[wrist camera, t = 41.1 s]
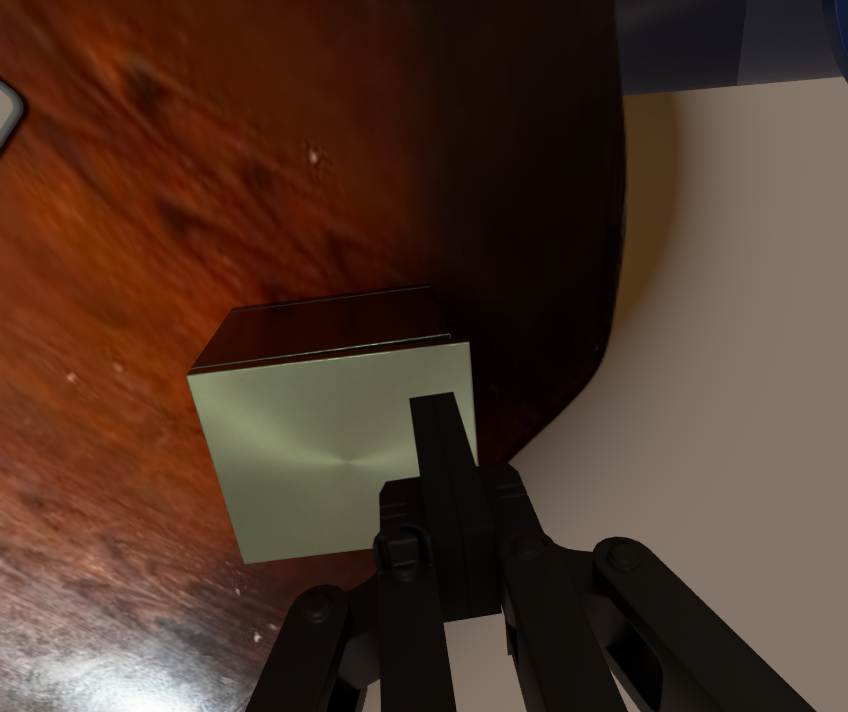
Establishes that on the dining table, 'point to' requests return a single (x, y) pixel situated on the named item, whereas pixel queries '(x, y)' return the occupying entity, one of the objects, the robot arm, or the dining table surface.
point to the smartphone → (8, 111)
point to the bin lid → (321, 439)
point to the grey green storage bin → (326, 326)
